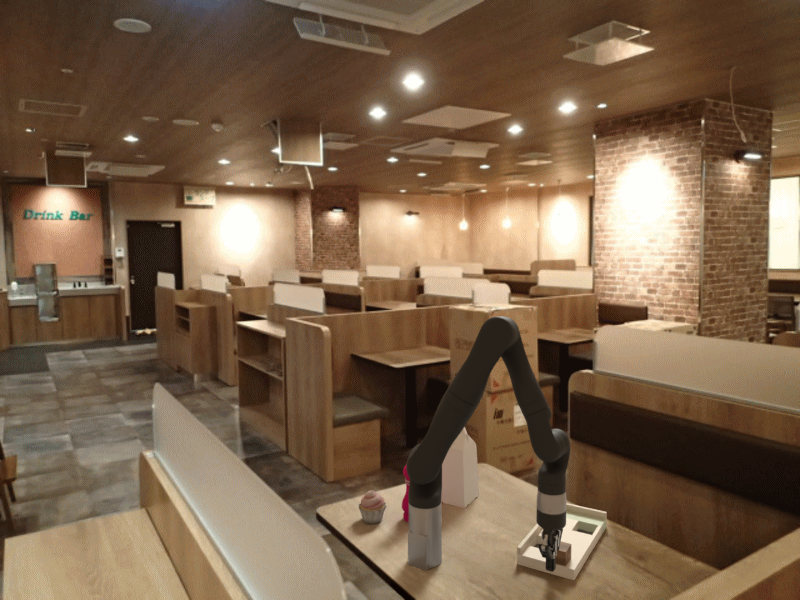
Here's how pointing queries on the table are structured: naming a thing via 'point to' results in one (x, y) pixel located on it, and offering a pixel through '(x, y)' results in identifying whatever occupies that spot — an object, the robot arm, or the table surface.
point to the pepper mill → (406, 496)
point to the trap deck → (578, 532)
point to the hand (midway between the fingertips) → (550, 569)
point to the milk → (460, 472)
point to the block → (563, 554)
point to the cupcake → (372, 507)
